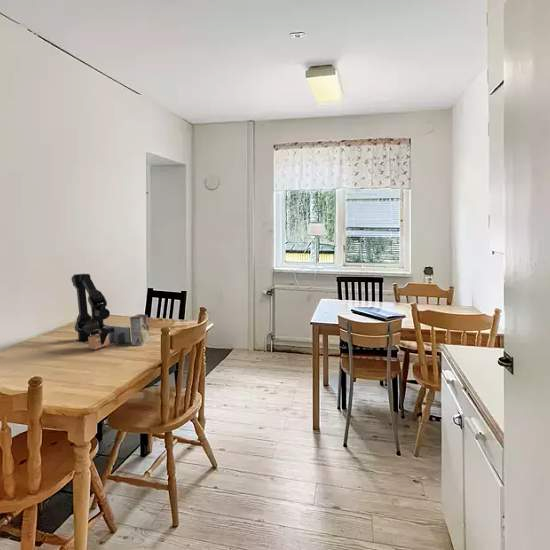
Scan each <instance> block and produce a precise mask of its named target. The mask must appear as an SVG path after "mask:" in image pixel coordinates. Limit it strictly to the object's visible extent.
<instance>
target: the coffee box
mask: <svg viewBox="0 0 550 550" xmlns="http://www.w3.org/2000/svg"><path fill="white" fill-rule="evenodd" d="M129 319H130V320H129V321H130V332H131V346H143V345H145V344H147V343H148V342H150V341H151V340H150V330H149V329H150V328H149V327H150V325H149V315H148V314H143V313H142V314H139V313H138V314H136V315H134V316H131V317H130V318H129Z"/></svg>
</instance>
